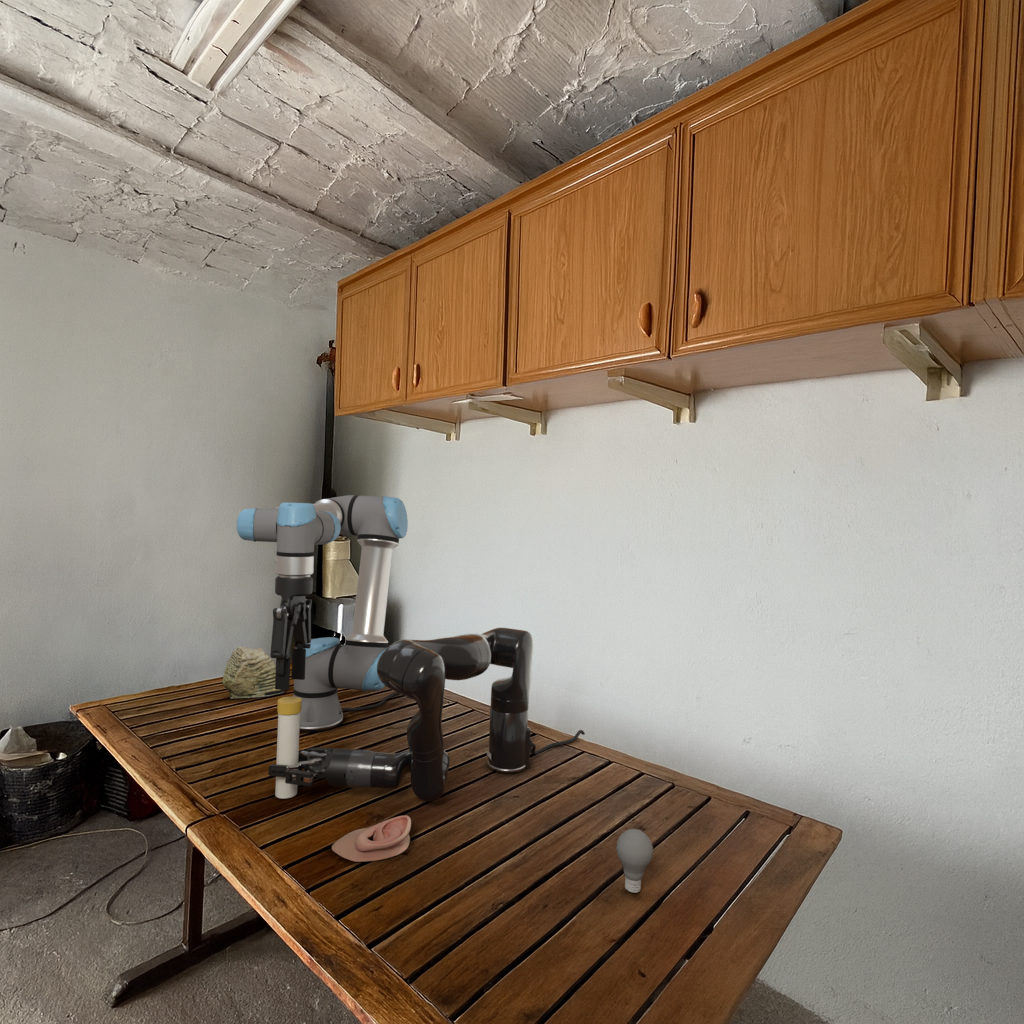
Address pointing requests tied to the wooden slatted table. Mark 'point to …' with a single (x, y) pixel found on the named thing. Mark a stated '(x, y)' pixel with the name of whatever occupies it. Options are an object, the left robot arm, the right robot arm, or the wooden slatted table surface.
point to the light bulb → (634, 857)
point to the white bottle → (287, 751)
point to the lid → (289, 705)
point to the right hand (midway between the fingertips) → (276, 763)
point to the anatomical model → (375, 841)
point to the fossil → (250, 674)
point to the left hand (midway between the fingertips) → (290, 683)
